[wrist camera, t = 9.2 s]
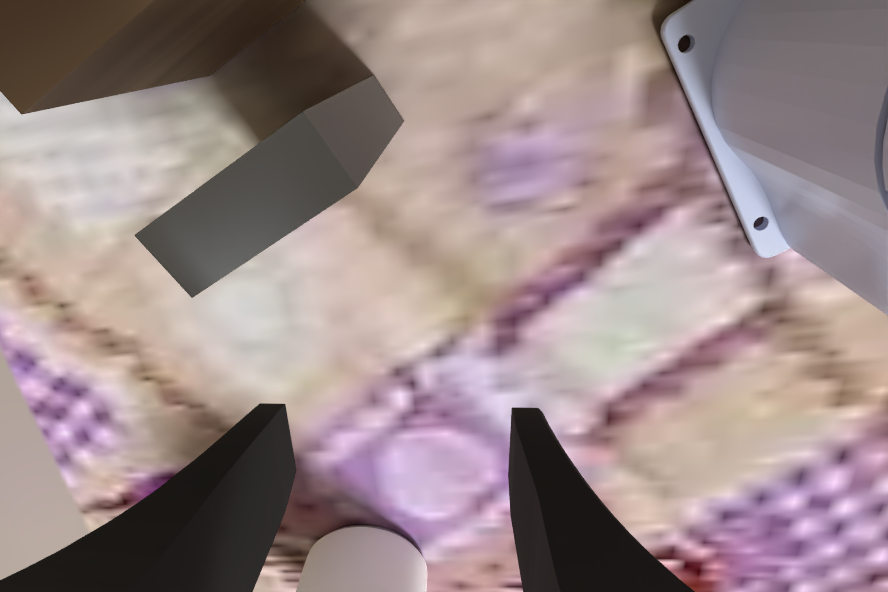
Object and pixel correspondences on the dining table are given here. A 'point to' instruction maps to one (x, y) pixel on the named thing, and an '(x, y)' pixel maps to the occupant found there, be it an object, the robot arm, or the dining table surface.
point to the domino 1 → (120, 44)
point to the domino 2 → (274, 187)
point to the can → (363, 562)
